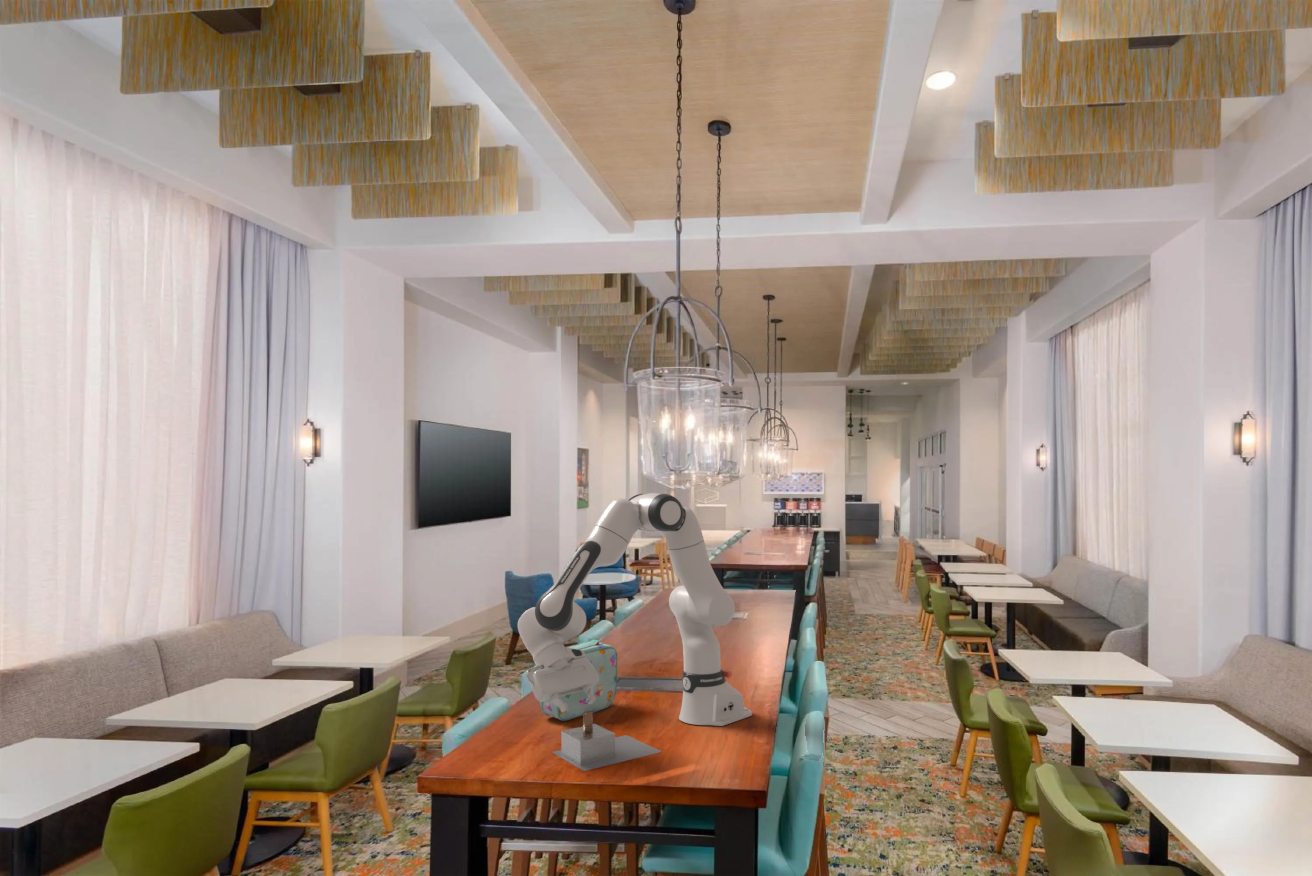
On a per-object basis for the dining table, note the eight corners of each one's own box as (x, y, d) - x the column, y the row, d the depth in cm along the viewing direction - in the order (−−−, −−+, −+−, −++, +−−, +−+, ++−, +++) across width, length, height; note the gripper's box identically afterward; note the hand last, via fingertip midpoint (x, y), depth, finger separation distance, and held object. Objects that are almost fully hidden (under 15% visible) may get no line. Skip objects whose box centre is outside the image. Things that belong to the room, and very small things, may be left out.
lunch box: (598, 700, 261) (597, 633, 262) (621, 705, 254) (620, 637, 255) (536, 720, 240) (536, 647, 241) (560, 726, 234) (560, 651, 235)
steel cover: (595, 747, 211) (594, 704, 212) (615, 757, 203) (614, 713, 204) (561, 754, 205) (561, 711, 206) (580, 766, 197) (580, 720, 198)
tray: (626, 739, 221) (626, 723, 221) (662, 756, 207) (661, 739, 207) (551, 756, 208) (551, 739, 208) (584, 776, 194) (584, 757, 194)
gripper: (529, 662, 205) (554, 708, 198) (587, 649, 220) (613, 691, 213) (518, 677, 207) (542, 722, 200) (576, 663, 223) (601, 705, 216)
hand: (579, 706), depth 207 cm, fingers open, 8 cm apart
